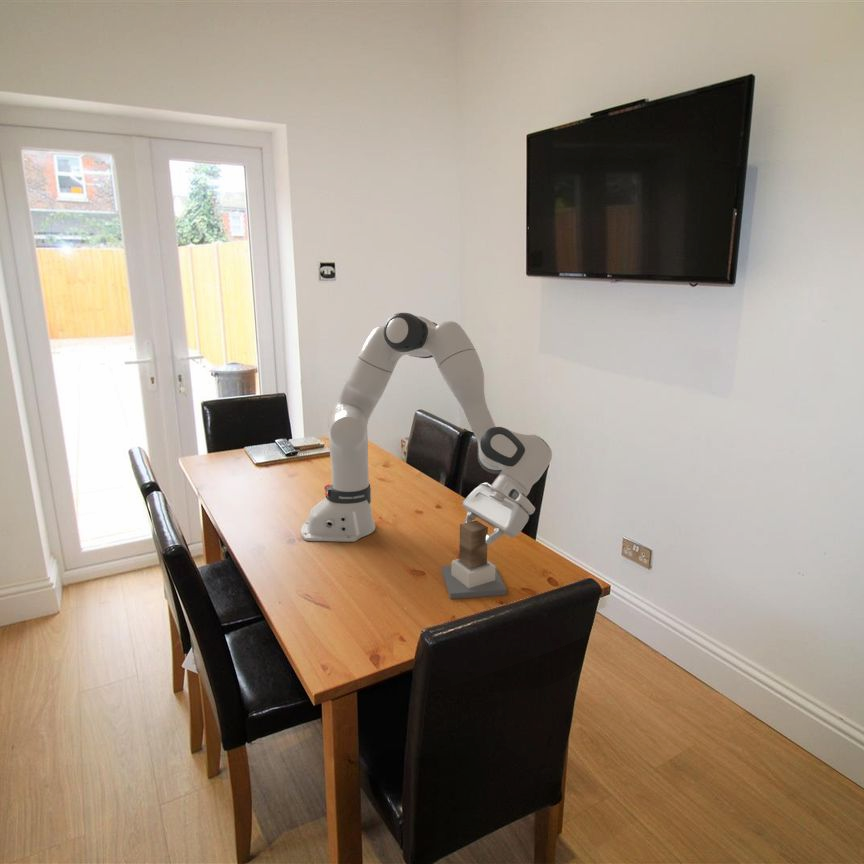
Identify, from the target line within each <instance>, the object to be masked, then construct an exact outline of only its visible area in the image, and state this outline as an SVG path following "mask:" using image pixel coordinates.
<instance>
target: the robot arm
mask: <svg viewBox="0 0 864 864" xmlns="http://www.w3.org/2000/svg"><path fill="white" fill-rule="evenodd" d="M406 355H407V356H410V357H413V358H419V359H430V358H433V360H434V361H435V364H436V366H437V368H438V371H439V373H440V374H441V376H442V378H443V380H444V381H445V383H446V385H447V386H448V388H449V390H450V391H451V392H452V394H453V396H454V397H455V398H456V401H458V404H459V405H460V407H461V409H462V410H463V412H464V414H465V416H466V419H467V421H468V423H469V425H470V428H471V431H472V432H473V435H474V438H475V439H476V440H475V441H476V443H477V444H476V445H477V460H478V464H479V465H480V466H481V468H482V469H483V470H484V471H485V472H487V473H489V474H493V475H497V476H496V478H495V479H494V480H493V482H492V483H491V484H490V483H489V482H487V481H486V482H483V483H480V484H479V485H478V486H477V487H475V488H474V489H473V490H472V491H471V492H470V493H469V494H468V495H467V496H466V498H465V499H464V500H463V501H462V508H463V509H464V510H465V511H466V512H467V513H466V515H465V520H464V522H463V524H464V523H468V522H472V521H476V519H477V518H478V519H479V520H481V521H483V522H485V523H486V524H487V525H489V526H491V527H493V528H494V529H493V532H492V533H490V534H488V535H486V536H485V538H484V539H483V542H484V543H486V544H487V546H491V545H492V544H493V543H494V542H495V541H497V540H498V539H500V538H502V537H503V535H504V534H505V535H506V536H508V537H510V538H512V539H513V538H516V537H517V536H518V535H519V534H520V533H521V532H522V531H523V529H524V527H525V526H526V524H527V523H528V521H529V519H530V516H531V515H533V514H534V513H535V510H536V507H535V506H534V505H533V504H532V503H531V501H530V500H529V499H528V497H527V496H528V495H529V494H530V491H531V489H532V488H533V486H534V484H536V483H537V482H538V481H539V480H540V478H541V477H542V476H543V474H544V473H545V471H546V470H547V468H548V467H549V465H550V464H551V461H552V458H553V452H552V449H551V448H550V446H549V445H548V443H547V442H546V441H545V440H544V439H543V438H541V437H540V436H538V435H536V434H523V433H519V432H515V431H512V430H509V429H508V428H505V427H502V426H496V425H495V422H494V419H493V417H492V415H491V413H490V411H489V408H488V404H487V401H486V396H485V394H486V393H485V373H484V369H483V366H482V362H481V358H480V356H479V354H478V352H477V349H476V348H475V346H474V344H473V342H472V341H471V339H470V337H469V336H468V335H467V333H466V331H465V330H464V329H463V328H462V326H461V325H460V324H459V323H457V322H456V321H451V320H449V321H443V322H440V323H439V324H437V323H436V322H434V321H431V320H429V319H428V318H426V317H423V316H418V315H415V314H412V313H409V312H397V313H395V314H393V315H391V316H390V317H389V318H388V319H387V320H386V321H385V324H384V325H383V326H382V325H380V326H376V327H374V328H373V330H371V332H370V333H369V335H368V336H367V338H366V339H365V341H364V343H363V345H362V346H361V348H360V350H359V352H358V354H357V357H356V359H355V361H354V363H353V365H352V367H351V370H350V372H349V375H348V377H347V380H346V381H345V383H344V385H343V387H342V390H341V391H340V393H339V395H338V397H337V400H336V401H335V404H334V406H333V409H332V410H331V413H330V418H329V421H328V427H327V429H328V430H327V432H328V443H329V444H328V447H329V456H330V466H331V467H330V468H331V469H330V472H331V484H330V482H329V483H325V484H324V487H323V488H324V492H325V498H323V499H322V500H321V501H319V502H318V503H317V504H315V505H314V506H313V507H312V508H311V510H310V512H309V514H308V518H307V520H306V521H305V522H304V523H303V524H302V525H301V529H300V535H302V536H301V538H302V537H303V538H302V539H303V540H305V541H308V542H309V541H310V542H341V543H342V542H347V543H348V542H349V543H350V542H351V543H352V542H353V543H354V542H357V541H359V539H361V538H363V537H366V536H369V535H370V534H372V533H373V532H374V531H375V530H376V524H375V521H374V518H373V513H372V506H371V501H372V488H371V484H370V477H369V475H370V474H369V444H368V443H369V442H368V441H369V440H368V424H369V420H370V417H371V415H372V414H373V412H374V409H376V406H377V405H378V403H379V401H380V400H381V398H382V396H383V395H384V393H385V389H386V388H387V386H388V384H389V381H390V379H391V377H392V375H393V372H394V370H395V368H396V365H397V364H398V362H399V360H400V359H401V358H402V357H403V356H406Z"/></svg>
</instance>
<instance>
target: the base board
mask: <svg viewBox="0 0 864 864" xmlns="http://www.w3.org/2000/svg"><path fill="white" fill-rule="evenodd" d="M441 574H442V577H443V580H444V584H445V587H446V590H447V592H448V596H449V598H450V600H455V599H456V600H457V599H458V600H459V599H471V598H481V597H482V598H483V597H485V598H486V597H496V596H497V597H498V596H507V595H508V594H507V593H508V589H507V587H506V585H505V583H504V581H503V579H502V577H501V575H500V573H499V571H498V569H497V567H496V565H495V563H494V562H491V561H489V560H488V559H487V564H485V565H482V566H479V567H475V568H472V569H470V568H468V567H467V566H466V565H464V564H463V563H462V562H460V561H459V558H456V559H453V560H451V565H442V566H441Z"/></svg>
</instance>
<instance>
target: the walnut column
mask: <svg viewBox="0 0 864 864" xmlns="http://www.w3.org/2000/svg"><path fill="white" fill-rule="evenodd" d="M488 532H489V528H488V526H486V525H485V524H483V523H482V522H480V521H478V520H476V519H475V520H472V522H468V523H464V522H463V523H461V524H460V523H459V549H458V550H459V554H458V555H459V558H458V559H459V561H460V562H462V563H463V564H464V565H466V566H467V567H468V568H470V569H472V568H475V567H479V566H482V565H485V564H487V560H488V545H487V544H486V543H484V542H483V539H484V538H485V536H486V535H488V536H489V533H488Z"/></svg>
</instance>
